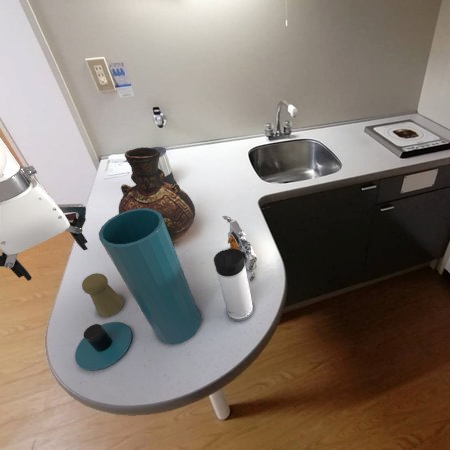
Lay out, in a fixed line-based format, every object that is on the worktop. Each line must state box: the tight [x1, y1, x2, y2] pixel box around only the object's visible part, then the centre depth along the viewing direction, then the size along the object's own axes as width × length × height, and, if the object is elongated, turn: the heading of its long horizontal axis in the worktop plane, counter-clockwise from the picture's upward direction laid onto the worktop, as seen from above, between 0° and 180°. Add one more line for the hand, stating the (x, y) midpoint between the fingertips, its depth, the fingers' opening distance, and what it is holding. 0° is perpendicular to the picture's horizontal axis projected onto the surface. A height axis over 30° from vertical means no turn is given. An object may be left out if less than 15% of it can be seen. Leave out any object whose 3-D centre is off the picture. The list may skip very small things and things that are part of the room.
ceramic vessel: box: [118, 146, 196, 244], centre depth 89 cm, size 21×18×30 cm
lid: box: [74, 321, 133, 372], centre depth 68 cm, size 11×11×7 cm
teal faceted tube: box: [98, 208, 202, 345], centre depth 64 cm, size 10×10×32 cm
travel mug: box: [213, 248, 254, 322], centre depth 71 cm, size 6×7×20 cm
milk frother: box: [130, 146, 178, 184], centre depth 114 cm, size 14×16×15 cm
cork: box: [81, 272, 125, 318], centre depth 75 cm, size 6×6×11 cm
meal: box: [222, 215, 258, 281], centre depth 85 cm, size 15×4×13 cm, turn 35°
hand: (56, 260), depth 58 cm, fingers open, 9 cm apart
